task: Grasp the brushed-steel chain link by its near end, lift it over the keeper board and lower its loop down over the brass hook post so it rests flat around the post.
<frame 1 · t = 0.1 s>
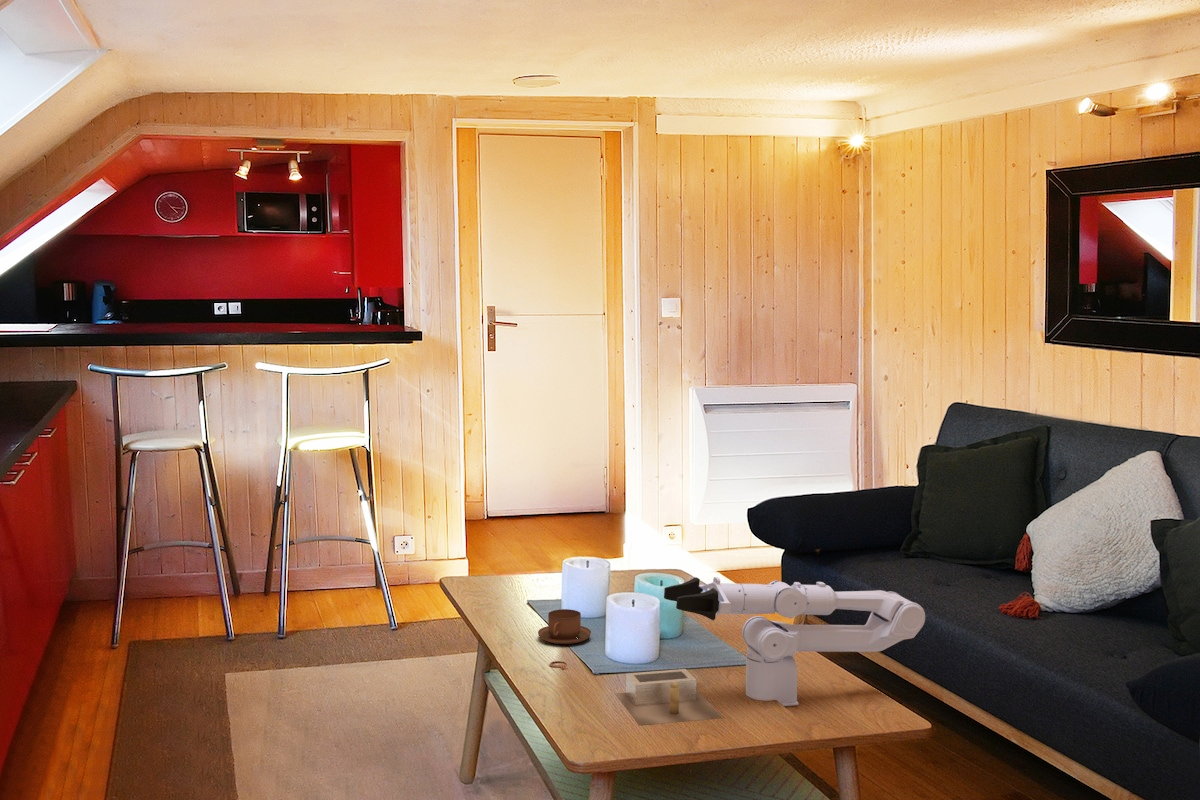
hand: (670, 598, 219), 22 cm above the table, tool horizontal, fingers open, 7 cm apart
cup and saucer: (564, 641, 265), on the table
key: (574, 675, 242), on the table
keeper board: (667, 712, 219), on the table
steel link: (660, 697, 223), point 1 cm above the table, touching keeper board
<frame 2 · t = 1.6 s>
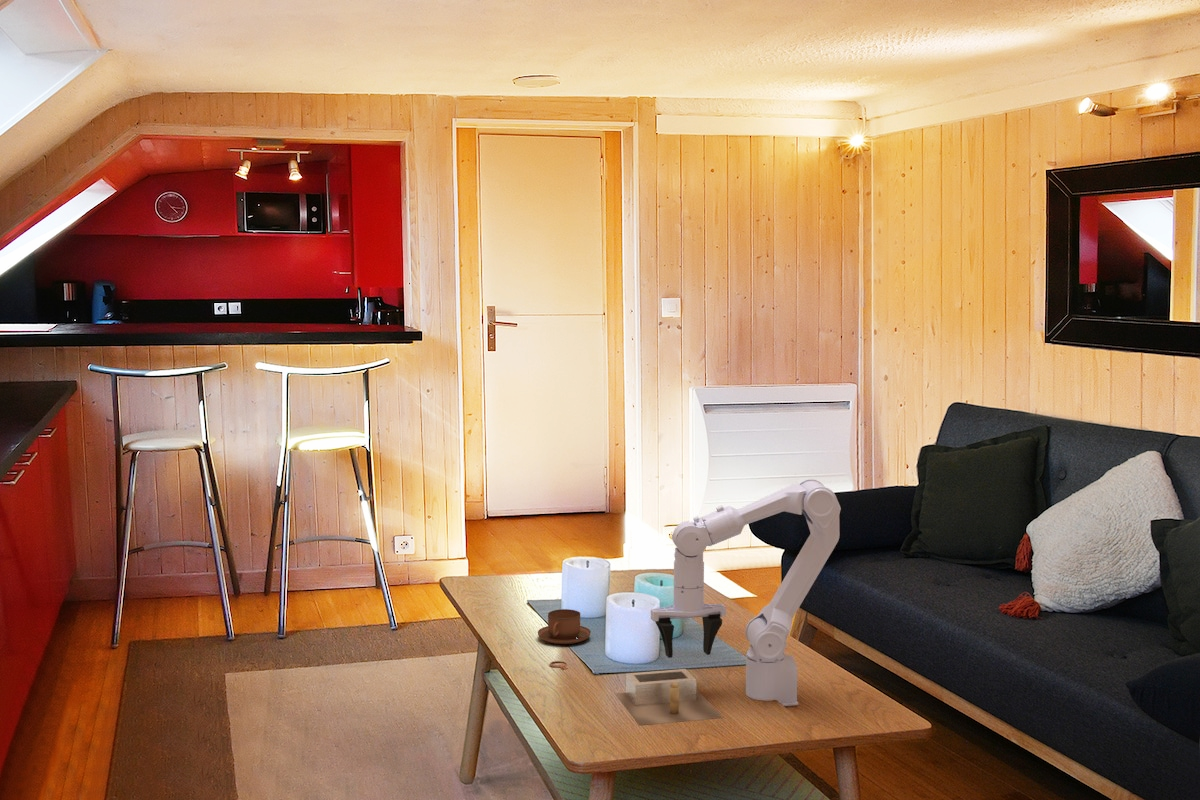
hand: (688, 654, 224), 9 cm above the table, tool pointing down, fingers open, 7 cm apart
nothing on the table moved.
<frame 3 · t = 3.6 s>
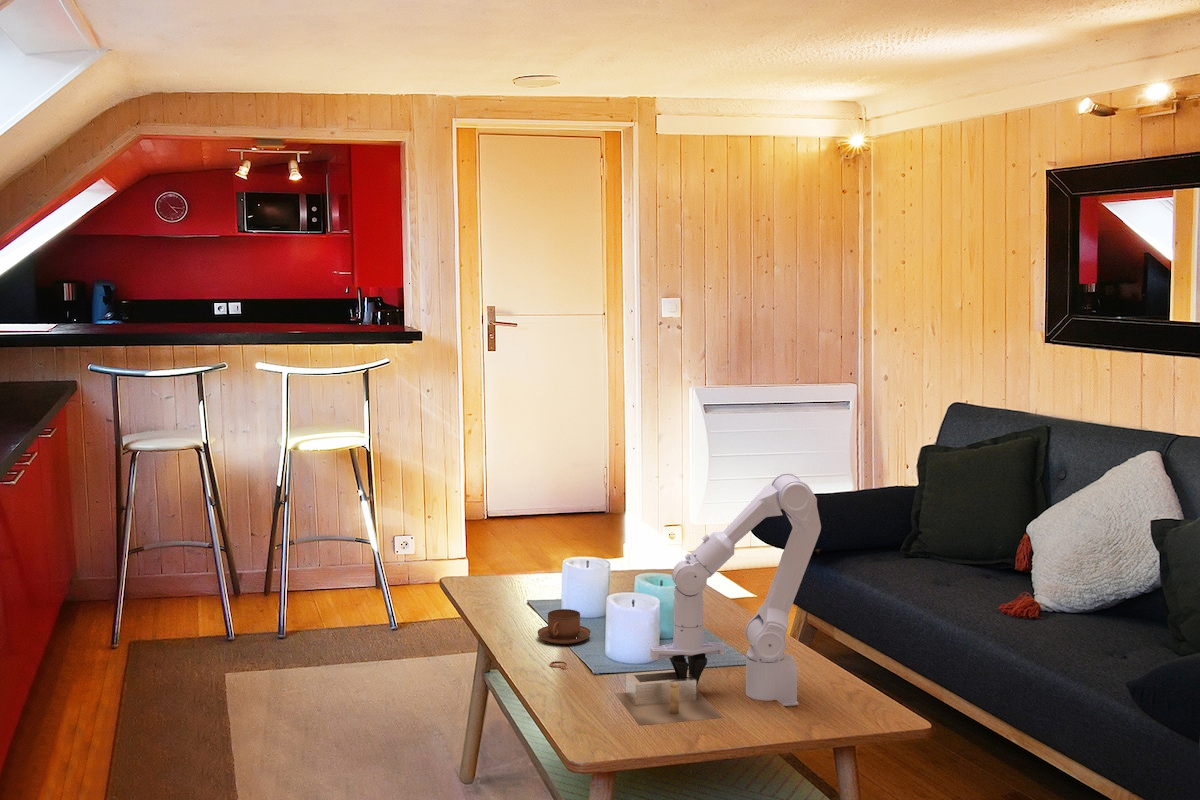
hand: (687, 692, 224), 2 cm above the table, tool pointing down, fingers closed on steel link
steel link: (660, 697, 223), point 1 cm above the table, touching gripper, keeper board
everything else where it was.
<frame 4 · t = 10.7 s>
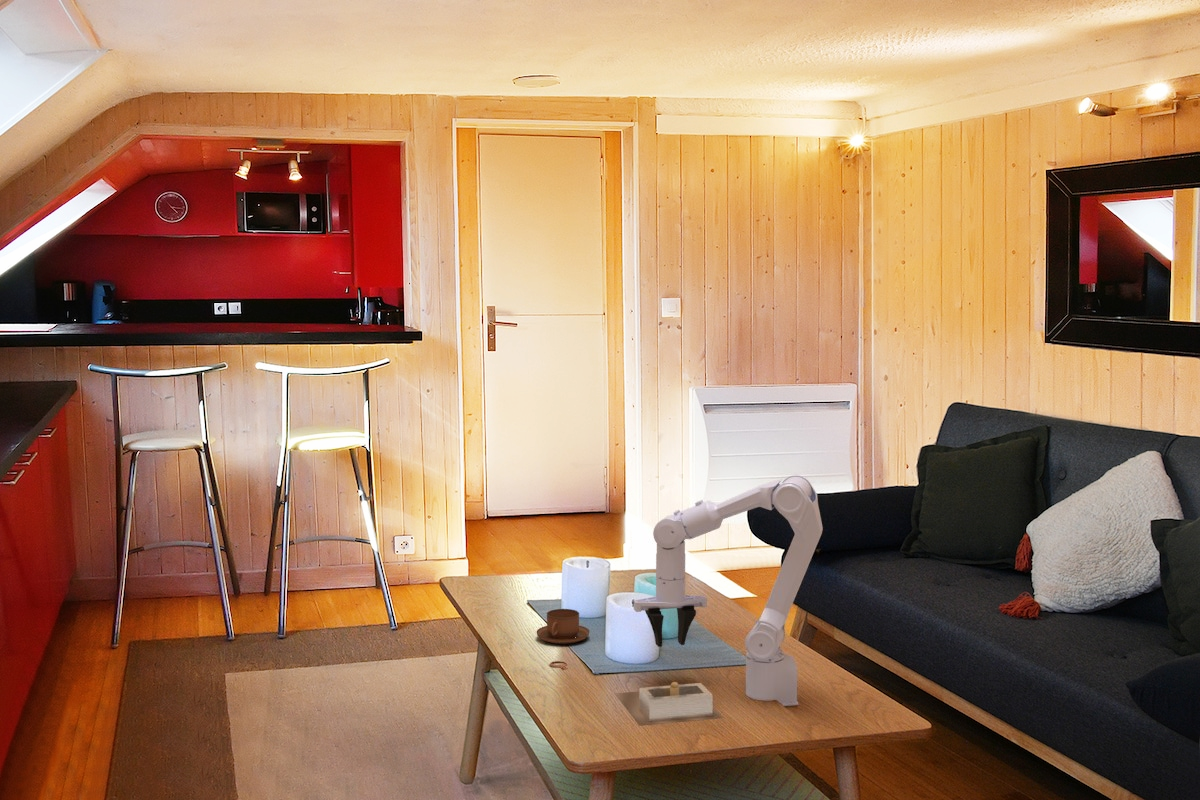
hand: (670, 644, 230), 9 cm above the table, tool pointing down, fingers open, 4 cm apart
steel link: (675, 712, 215), point 1 cm above the table, touching keeper board
everything else where it was.
at the end: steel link 0.3 cm from the target spot on the keeper board, point 1.5 cm above the keeper board's base; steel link tilted 0°; the gripper is holding nothing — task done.
